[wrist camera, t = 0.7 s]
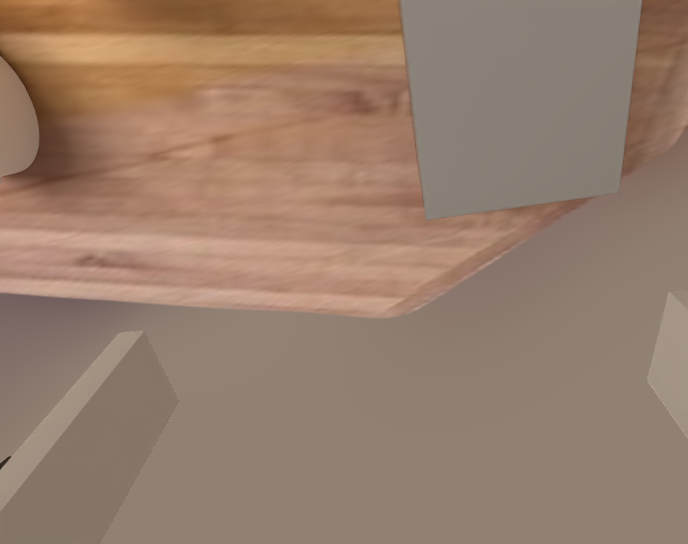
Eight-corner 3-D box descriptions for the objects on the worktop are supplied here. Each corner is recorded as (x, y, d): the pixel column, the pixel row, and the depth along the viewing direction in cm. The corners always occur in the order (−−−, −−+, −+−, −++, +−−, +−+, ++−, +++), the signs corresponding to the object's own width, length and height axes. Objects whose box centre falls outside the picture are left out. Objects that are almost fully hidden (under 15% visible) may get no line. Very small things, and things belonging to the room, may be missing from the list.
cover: (387, -94, 24) (385, -141, 17) (578, -147, 22) (669, -225, 15) (418, 172, 31) (426, 220, 24) (563, 149, 29) (619, 192, 22)
